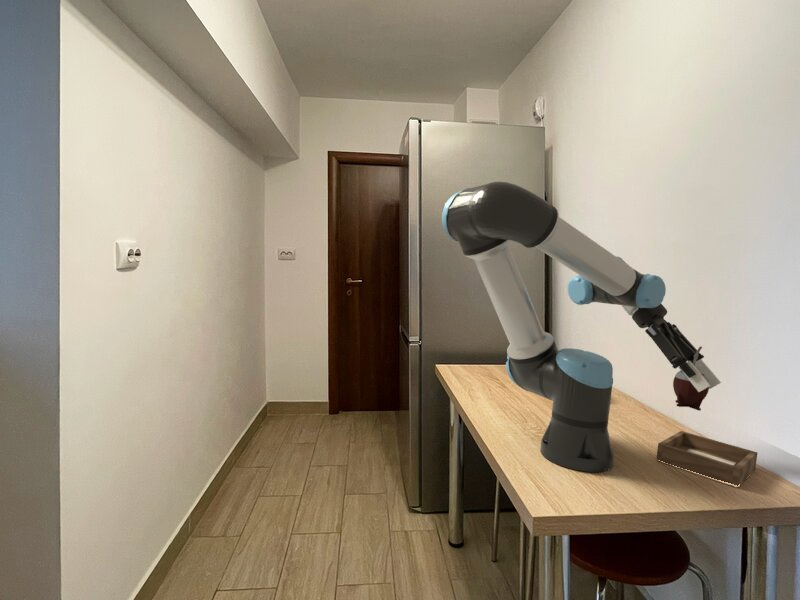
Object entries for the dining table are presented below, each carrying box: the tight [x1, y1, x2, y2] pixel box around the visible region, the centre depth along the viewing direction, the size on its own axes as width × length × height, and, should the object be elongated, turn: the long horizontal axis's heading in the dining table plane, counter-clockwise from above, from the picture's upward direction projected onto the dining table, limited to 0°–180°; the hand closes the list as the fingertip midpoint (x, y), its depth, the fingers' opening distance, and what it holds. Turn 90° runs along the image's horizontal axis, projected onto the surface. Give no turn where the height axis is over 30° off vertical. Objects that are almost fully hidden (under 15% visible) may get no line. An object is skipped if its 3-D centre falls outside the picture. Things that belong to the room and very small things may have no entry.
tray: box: [655, 430, 758, 486], centre depth 99 cm, size 15×15×4 cm
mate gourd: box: [672, 346, 710, 412], centre depth 104 cm, size 8×8×15 cm
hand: (710, 387), depth 101 cm, fingers closed on mate gourd, 7 cm apart
